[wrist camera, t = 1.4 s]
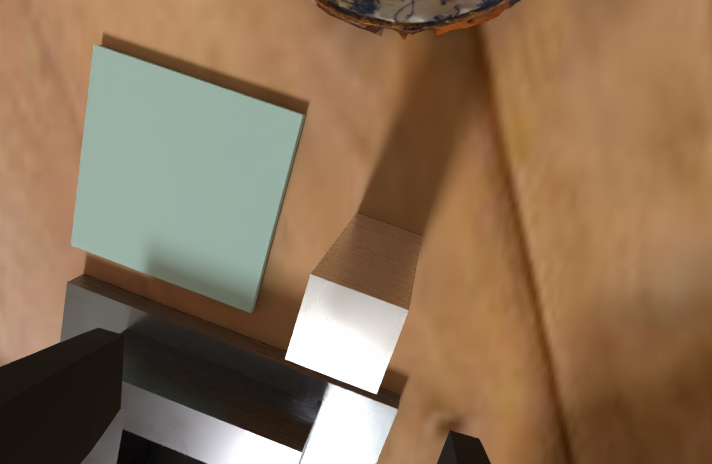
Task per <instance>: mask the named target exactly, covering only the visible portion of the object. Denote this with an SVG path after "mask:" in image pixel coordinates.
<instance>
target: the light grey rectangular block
mask: <svg viewBox="0 0 712 464" xmlns="http://www.w3.org/2000/svg"><path fill="white" fill-rule="evenodd" d="M421 238H422V236H421V235H418V234H415V233H413V232H410V231H407V230H404V229H401V228H398V227H396V226H393V225H390V224H387V223H384V222H381V221H379V220H376V219H373V218H370V217H367V216H364V215H362V214H359V213H356V215H355V216H354V217H353V219H352V220H351V221H350V223H349V224H348V225H347V227H346V228H345V229H344V231H343V232H342V233H341V235H340V236H339V237H338V239H337V240H336V241H335V242H334V244H333V245H332V246H331V248H330V249H329V250H328V252H327V253H326V254H325V256H324V257H323V258H322V260H321V261H320V262H319V264H318V265H317V266H316V268H315V269H314V270H313V272H312V273H311V274H310V278H309V281H308V284H307V288H306V291H305V294H304V298H303V301H302V304H301V308H300V311H299V314H298V318H297V321H296V324H295V327H294V331H293V334H292V337H291V341H290V344H289V347H288V351H287V354H286V357H285V359H286V360H289V361H291V362H294V363H297V364H299V365H302V366H304V367H307V368H310V369H312V370H315V371H317V372H320V373H323V374H325V375H328V376H330V377H333V378H336V379H338V380H341V381H343V382H346V383H349V384H351V385H354V386H356V387H359V388H362V389H364V390H367V391H369V392H372V393H375V394H377V392H378V389H379V386H380V384H381V381H382V379H383V376H384V373H385V371H386V368H387V366H388V363H389V361H390V358H391V355H392V353H393V350H394V348H395V345H396V342H397V340H398V337H399V335H400V332H401V330H402V327H403V324H404V322H405V319H406V317H407V314H408V312H409V307H410V301H411V296H412V290H413V284H414V279H415V273H416V267H417V261H418V256H419V250H420V244H421Z"/></svg>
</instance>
